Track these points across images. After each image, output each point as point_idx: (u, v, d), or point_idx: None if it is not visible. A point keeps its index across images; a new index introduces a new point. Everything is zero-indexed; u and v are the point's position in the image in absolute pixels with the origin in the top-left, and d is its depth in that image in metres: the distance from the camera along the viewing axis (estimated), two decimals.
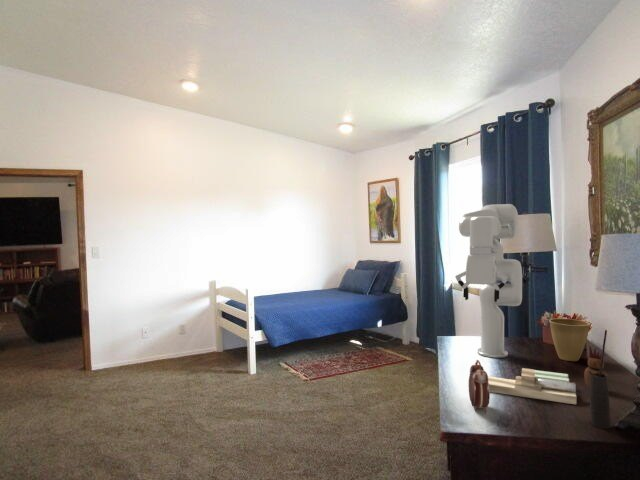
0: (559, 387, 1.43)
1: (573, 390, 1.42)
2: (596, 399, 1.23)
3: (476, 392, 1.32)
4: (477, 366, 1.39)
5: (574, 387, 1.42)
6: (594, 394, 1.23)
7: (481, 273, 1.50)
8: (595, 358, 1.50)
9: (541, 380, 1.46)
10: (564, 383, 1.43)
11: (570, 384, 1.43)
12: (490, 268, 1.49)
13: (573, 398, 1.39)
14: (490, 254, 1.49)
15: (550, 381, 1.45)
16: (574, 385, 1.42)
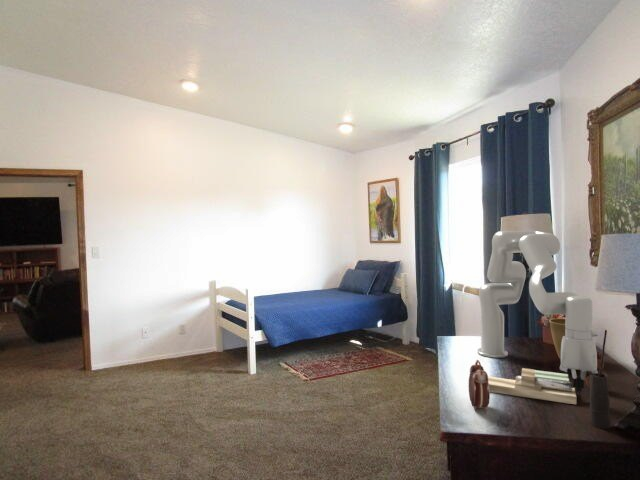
0: (555, 386, 1.44)
1: (569, 389, 1.42)
2: (596, 399, 1.23)
3: (476, 392, 1.32)
4: (477, 366, 1.39)
5: (570, 386, 1.42)
6: (594, 394, 1.23)
7: (580, 358, 1.40)
8: None
9: (537, 379, 1.47)
10: (560, 382, 1.44)
11: (567, 383, 1.43)
12: (591, 354, 1.38)
13: (573, 398, 1.39)
14: (590, 338, 1.39)
15: (546, 380, 1.46)
16: (570, 384, 1.42)
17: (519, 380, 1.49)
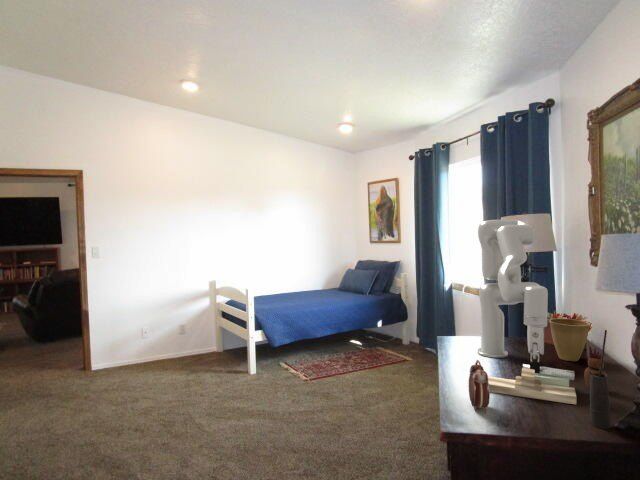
0: (558, 375, 1.51)
1: (572, 377, 1.49)
2: (596, 399, 1.23)
3: (476, 392, 1.32)
4: (477, 366, 1.39)
5: (573, 375, 1.49)
6: (594, 394, 1.23)
7: (528, 340, 1.57)
8: (595, 358, 1.50)
9: (541, 368, 1.54)
10: (563, 371, 1.51)
11: (569, 372, 1.50)
12: (528, 337, 1.54)
13: (573, 398, 1.39)
14: (529, 324, 1.53)
15: (550, 369, 1.53)
16: (573, 373, 1.49)
17: None
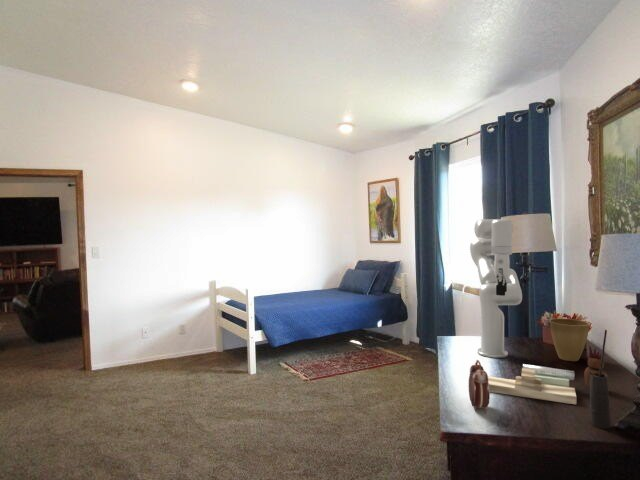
0: (558, 375, 1.51)
1: (572, 377, 1.49)
2: (596, 399, 1.23)
3: (476, 392, 1.32)
4: (477, 366, 1.39)
5: (573, 375, 1.49)
6: (594, 394, 1.23)
7: None
8: (595, 358, 1.50)
9: (541, 368, 1.54)
10: (563, 371, 1.51)
11: (569, 372, 1.50)
12: (494, 265, 1.71)
13: (573, 398, 1.39)
14: (495, 252, 1.71)
15: (550, 369, 1.53)
16: (573, 373, 1.49)
17: None
